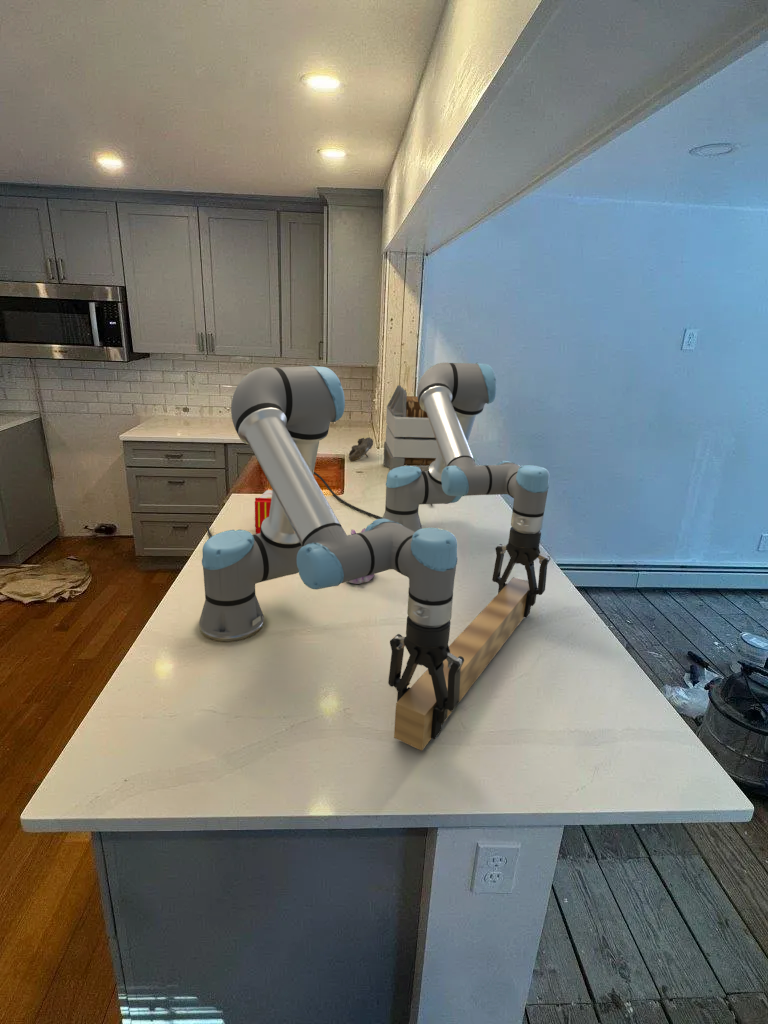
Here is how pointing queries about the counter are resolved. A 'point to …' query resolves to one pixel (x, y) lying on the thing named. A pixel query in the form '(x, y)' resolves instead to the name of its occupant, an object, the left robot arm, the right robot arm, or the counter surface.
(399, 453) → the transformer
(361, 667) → the counter surface
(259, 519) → the red striped tall box
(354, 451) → the fossil
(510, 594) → the post
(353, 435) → the counter surface
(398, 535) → the left robot arm
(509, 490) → the right robot arm
